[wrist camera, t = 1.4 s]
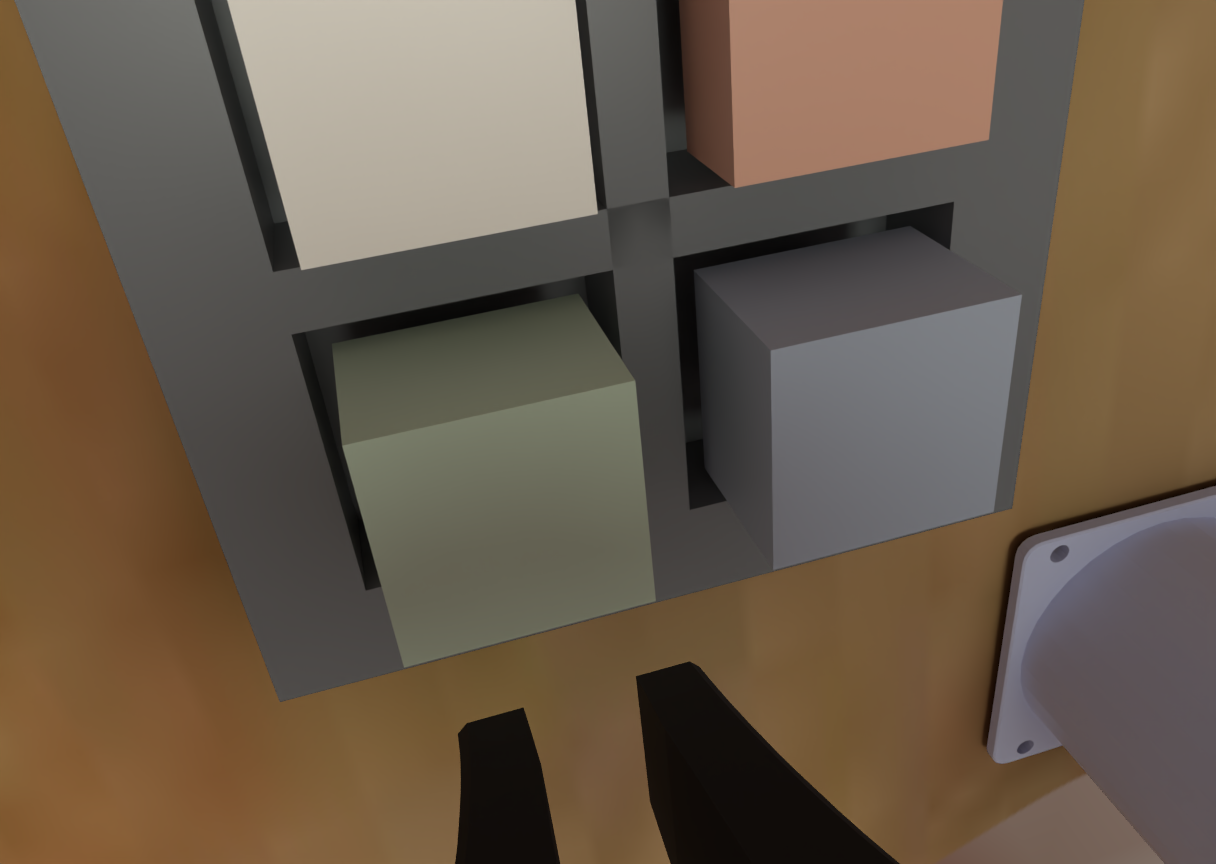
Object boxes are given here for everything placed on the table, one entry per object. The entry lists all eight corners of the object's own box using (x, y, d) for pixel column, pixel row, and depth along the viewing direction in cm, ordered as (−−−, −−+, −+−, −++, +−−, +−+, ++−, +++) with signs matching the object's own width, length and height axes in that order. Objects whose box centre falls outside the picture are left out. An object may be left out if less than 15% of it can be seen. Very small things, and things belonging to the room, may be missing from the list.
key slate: (910, 225, 18) (1021, 294, 15) (897, 421, 20) (993, 511, 17) (693, 269, 17) (770, 350, 14) (704, 467, 19) (773, 569, 16)
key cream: (527, -122, 13) (563, -117, 12) (563, 173, 16) (597, 213, 14) (217, -84, 13) (208, -71, 11) (298, 221, 15) (301, 270, 13)
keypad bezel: (1030, -385, 15) (1154, -422, 13) (949, 450, 23) (1017, 513, 21) (-44, -293, 12) (-113, -321, 10) (279, 617, 20) (280, 709, 18)
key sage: (578, 293, 17) (634, 381, 14) (602, 492, 19) (655, 600, 16) (331, 343, 16) (342, 445, 13) (385, 544, 18) (403, 667, 15)
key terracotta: (936, -174, 14) (1021, -176, 13) (917, 109, 17) (988, 139, 15) (671, -140, 14) (725, -138, 12) (687, 151, 16) (734, 188, 14)
